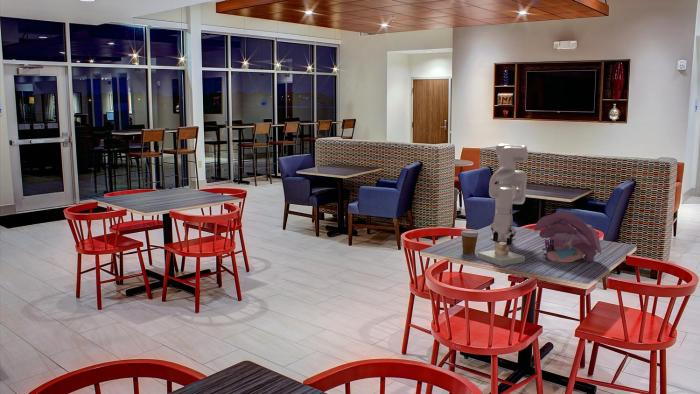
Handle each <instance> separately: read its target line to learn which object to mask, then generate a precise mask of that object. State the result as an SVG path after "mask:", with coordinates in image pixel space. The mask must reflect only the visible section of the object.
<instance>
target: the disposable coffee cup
mask: <svg viewBox="0 0 700 394" xmlns="http://www.w3.org/2000/svg"><path fill="white" fill-rule="evenodd" d="M460 234H461V246H462V253H463V254H467V255H474V254H475V253H476V248H477V247H476V246H477V243H478V237H479V232H478V230H475V229H462V230H461V232H460Z"/></svg>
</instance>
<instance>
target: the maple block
mask: <svg viewBox="0 0 700 394" xmlns="http://www.w3.org/2000/svg"><path fill="white" fill-rule="evenodd" d="M506 244H507V242H503V241H497V242H495V243H494V250H495V252H494V254H497V255H500V256H505V255H508V251H509V249H510V245H506ZM509 252H510V251H509Z"/></svg>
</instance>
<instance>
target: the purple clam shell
mask: <svg viewBox="0 0 700 394" xmlns="http://www.w3.org/2000/svg"><path fill="white" fill-rule="evenodd" d="M539 230H541V231H540V232H539V237H540V238H542V239H544V246H545V247H543V248H541V250H542V252H544V254H546V257H547V259H549V260H550V261H555V262H558V263H573V262H575V261H576V260H580V259H583V260H584V259H585V260H584V261H586V260H588V261H587V262H589V261H590V263H591V262H593V261H594V258H595V256H596V255H597V252H598V253H599V254H600V255H602V248H601V247H602V246H601V242H600V241H601V240H600V236H599V233H598V232H597V231H596V229H595V228H594V227H593V226H592V225H591V224H587V223H585V221H583V220H582V218H581V217H579V216H577V215H575V214H574V213H573V212H572V213H571V212H569V211H565V210H561V211H557V212H554V213H552V214H547V215H545V216H542V217H541V218H539V219H538V221H537V222H536V224H535V225H534V230H533V231H534V232H537V231H539Z"/></svg>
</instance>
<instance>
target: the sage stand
mask: <svg viewBox="0 0 700 394" xmlns="http://www.w3.org/2000/svg"><path fill="white" fill-rule="evenodd" d="M494 252H495V249H491V250H484V251H480V252H479V251H478V252H477V259H478V260H483V261H484V262H485V261H486V262H488V263H492V264H493V265H498V266H500V267H503V266H509V265H514V264H519V263H525V259H526V257H525V255H522V254H519V253H516V252H512V251H508V255H505V256H500V255H497V254H494Z"/></svg>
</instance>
